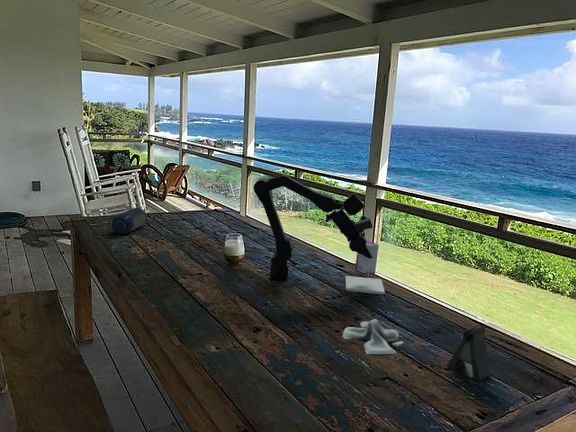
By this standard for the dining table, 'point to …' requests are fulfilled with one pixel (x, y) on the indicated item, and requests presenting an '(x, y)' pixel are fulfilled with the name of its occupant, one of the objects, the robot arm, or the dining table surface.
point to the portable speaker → (129, 220)
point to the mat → (364, 285)
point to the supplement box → (367, 260)
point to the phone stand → (479, 358)
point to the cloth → (373, 337)
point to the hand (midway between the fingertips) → (370, 255)
